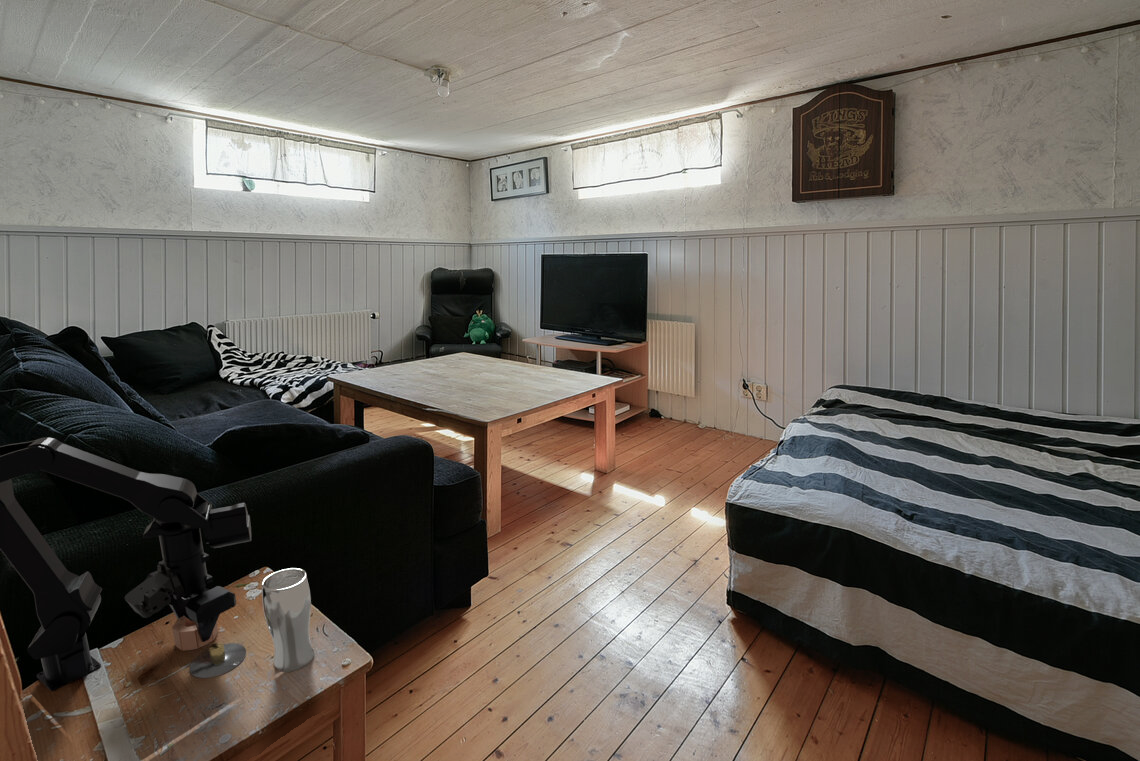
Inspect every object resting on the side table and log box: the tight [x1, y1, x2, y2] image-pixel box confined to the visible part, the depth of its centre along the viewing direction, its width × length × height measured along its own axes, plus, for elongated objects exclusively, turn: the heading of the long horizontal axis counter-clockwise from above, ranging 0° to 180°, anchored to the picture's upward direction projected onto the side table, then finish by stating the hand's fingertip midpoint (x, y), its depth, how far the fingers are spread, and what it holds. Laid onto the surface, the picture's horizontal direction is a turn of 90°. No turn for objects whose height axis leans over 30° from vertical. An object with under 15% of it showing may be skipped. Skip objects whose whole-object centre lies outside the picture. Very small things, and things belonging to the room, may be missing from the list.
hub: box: [189, 642, 247, 679], centre depth 94 cm, size 8×8×3 cm
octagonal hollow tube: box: [171, 616, 219, 651], centre depth 100 cm, size 6×6×4 cm
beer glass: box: [261, 567, 315, 673], centre depth 94 cm, size 7×7×15 cm
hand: (196, 634), depth 100 cm, fingers closed on octagonal hollow tube, 6 cm apart
